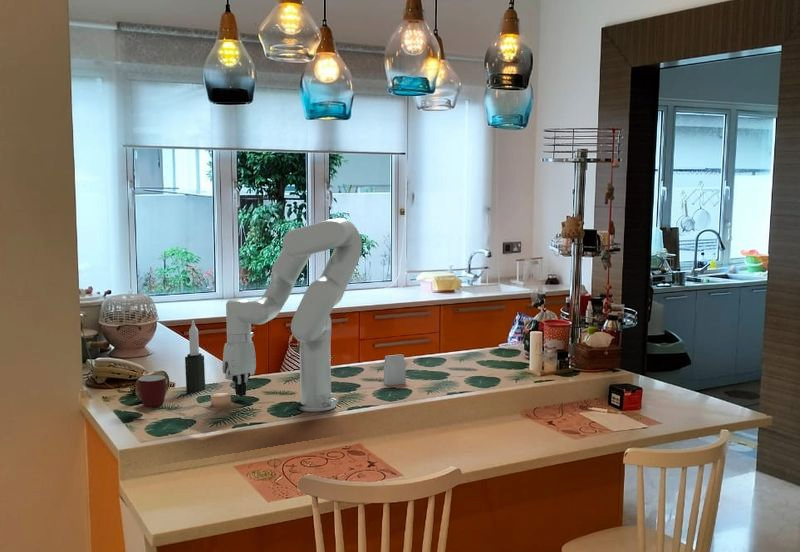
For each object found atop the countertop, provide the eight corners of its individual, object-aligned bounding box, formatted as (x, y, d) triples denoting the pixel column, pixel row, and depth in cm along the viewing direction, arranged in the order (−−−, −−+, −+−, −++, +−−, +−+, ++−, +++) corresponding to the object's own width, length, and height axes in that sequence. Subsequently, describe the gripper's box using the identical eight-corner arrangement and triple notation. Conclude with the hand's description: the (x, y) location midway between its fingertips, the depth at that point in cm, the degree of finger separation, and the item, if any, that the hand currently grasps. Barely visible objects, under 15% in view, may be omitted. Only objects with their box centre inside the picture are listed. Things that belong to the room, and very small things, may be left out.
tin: (141, 404, 251) (140, 378, 250) (133, 403, 252) (132, 377, 251) (170, 392, 265) (169, 368, 264) (163, 391, 266) (161, 367, 265)
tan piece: (244, 410, 242) (244, 405, 242) (194, 423, 229) (194, 418, 229) (219, 403, 251) (219, 398, 251) (169, 415, 238) (169, 410, 237)
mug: (138, 405, 249) (136, 375, 248) (164, 403, 252) (163, 372, 251) (141, 414, 239) (139, 382, 238) (168, 411, 242) (167, 379, 241)
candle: (185, 395, 261) (181, 321, 259) (194, 391, 266) (191, 318, 263) (198, 396, 260) (195, 321, 257) (206, 392, 264) (204, 319, 262)
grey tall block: (405, 383, 274) (405, 355, 273) (387, 385, 272) (387, 357, 271) (401, 381, 278) (401, 353, 276) (383, 382, 275) (383, 355, 274)
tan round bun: (234, 404, 244) (234, 395, 243) (218, 408, 239) (218, 399, 239) (223, 401, 248) (222, 391, 247) (207, 405, 243) (206, 395, 243)
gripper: (251, 333, 255) (252, 388, 257) (212, 340, 244) (214, 397, 246) (265, 336, 250) (267, 392, 252) (226, 343, 239) (228, 402, 241)
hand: (240, 395), depth 249 cm, fingers closed
